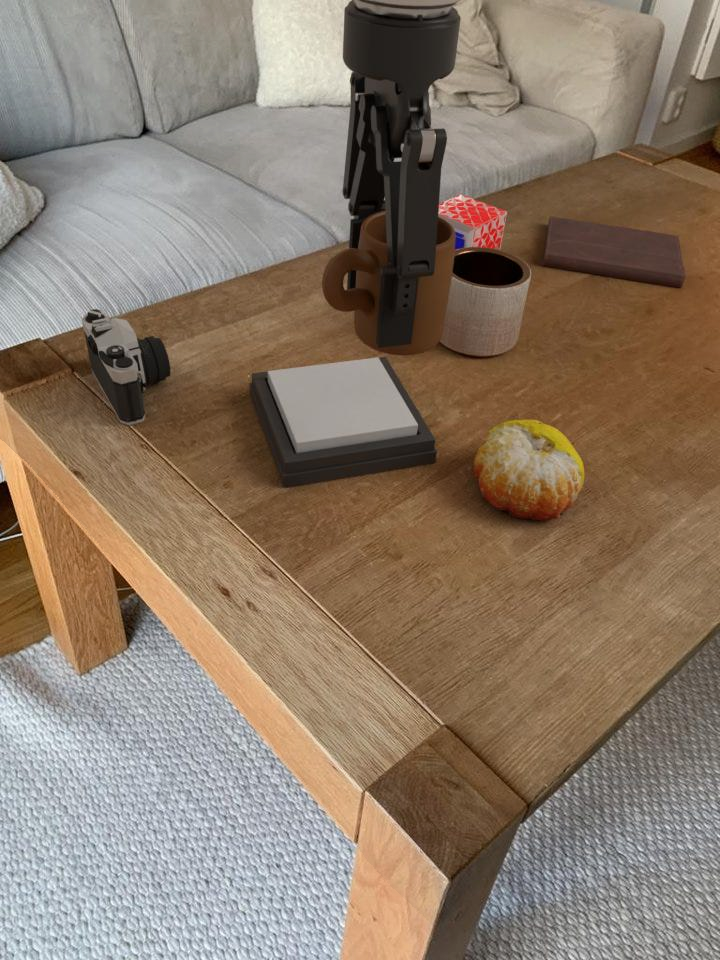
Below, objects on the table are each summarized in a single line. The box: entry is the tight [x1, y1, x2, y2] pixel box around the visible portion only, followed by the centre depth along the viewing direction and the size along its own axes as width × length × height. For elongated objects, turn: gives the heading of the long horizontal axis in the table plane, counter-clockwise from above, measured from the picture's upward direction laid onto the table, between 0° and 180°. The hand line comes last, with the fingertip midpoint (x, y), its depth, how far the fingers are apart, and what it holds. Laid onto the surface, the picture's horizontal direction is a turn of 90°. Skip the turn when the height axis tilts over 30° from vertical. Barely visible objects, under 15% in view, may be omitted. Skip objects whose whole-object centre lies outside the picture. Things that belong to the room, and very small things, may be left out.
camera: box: [81, 308, 172, 426], centre depth 88 cm, size 13×8×9 cm, turn 32°
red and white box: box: [438, 193, 508, 250], centre depth 116 cm, size 8×8×8 cm
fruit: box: [473, 419, 585, 522], centre depth 80 cm, size 11×10×8 cm
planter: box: [438, 247, 532, 358], centre depth 100 cm, size 11×11×10 cm
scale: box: [248, 356, 438, 489], centre depth 87 cm, size 16×16×3 cm
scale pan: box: [268, 356, 418, 453], centre depth 85 cm, size 13×13×2 cm
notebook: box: [542, 215, 686, 289], centre depth 122 cm, size 15×20×2 cm
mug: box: [321, 211, 456, 357], centre depth 65 cm, size 12×8×9 cm, turn 130°
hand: (377, 316), depth 67 cm, fingers closed on mug, 8 cm apart
